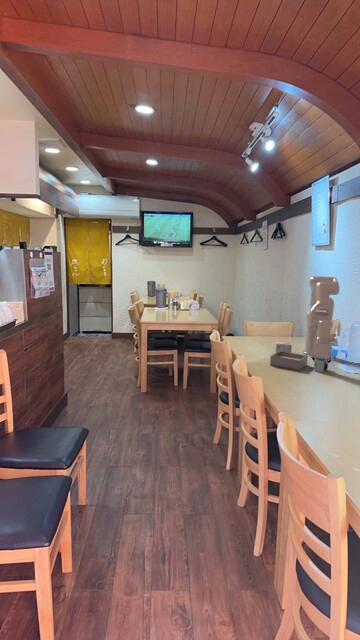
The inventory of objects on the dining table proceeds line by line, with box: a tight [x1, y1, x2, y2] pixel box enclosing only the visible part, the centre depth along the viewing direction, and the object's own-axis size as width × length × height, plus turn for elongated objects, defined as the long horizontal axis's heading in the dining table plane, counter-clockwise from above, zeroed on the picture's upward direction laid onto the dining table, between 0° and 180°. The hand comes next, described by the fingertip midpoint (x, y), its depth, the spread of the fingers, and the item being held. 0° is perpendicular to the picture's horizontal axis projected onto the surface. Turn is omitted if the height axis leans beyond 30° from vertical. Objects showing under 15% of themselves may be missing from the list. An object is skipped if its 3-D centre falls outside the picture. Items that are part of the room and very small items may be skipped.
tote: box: [269, 351, 309, 372], centre depth 240 cm, size 17×19×6 cm
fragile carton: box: [313, 358, 327, 374], centre depth 231 cm, size 9×5×7 cm, turn 145°
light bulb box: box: [274, 341, 293, 354], centre depth 258 cm, size 11×7×11 cm, turn 84°
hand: (320, 368), depth 231 cm, fingers closed on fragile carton, 5 cm apart
